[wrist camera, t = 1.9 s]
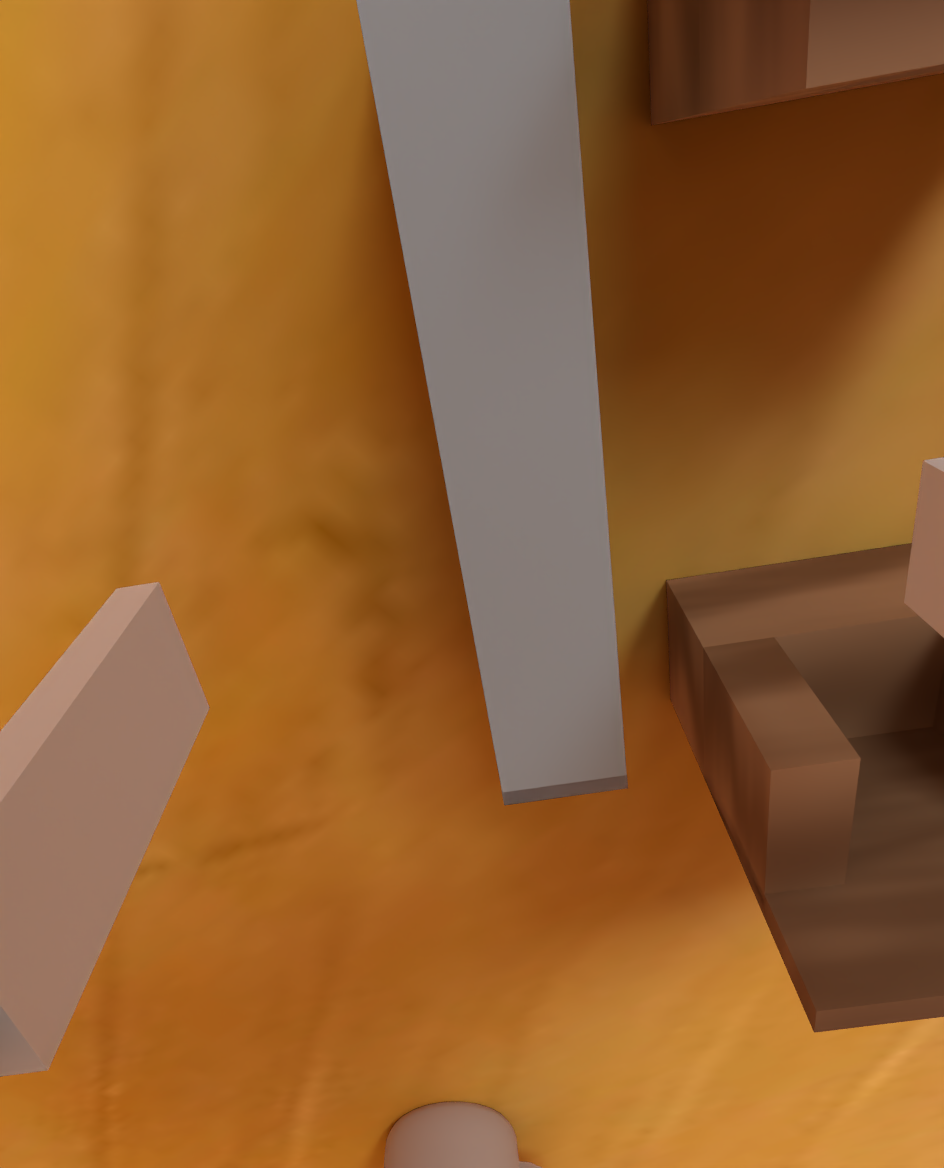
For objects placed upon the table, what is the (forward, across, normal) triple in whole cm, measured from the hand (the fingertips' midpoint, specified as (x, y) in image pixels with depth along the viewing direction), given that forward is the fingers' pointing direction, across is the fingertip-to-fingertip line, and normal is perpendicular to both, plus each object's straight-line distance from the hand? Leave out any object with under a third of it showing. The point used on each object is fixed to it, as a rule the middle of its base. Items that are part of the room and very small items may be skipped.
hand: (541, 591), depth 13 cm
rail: (+10, 0, 0) cm, 10 cm away
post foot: (+10, +9, -8) cm, 16 cm away
